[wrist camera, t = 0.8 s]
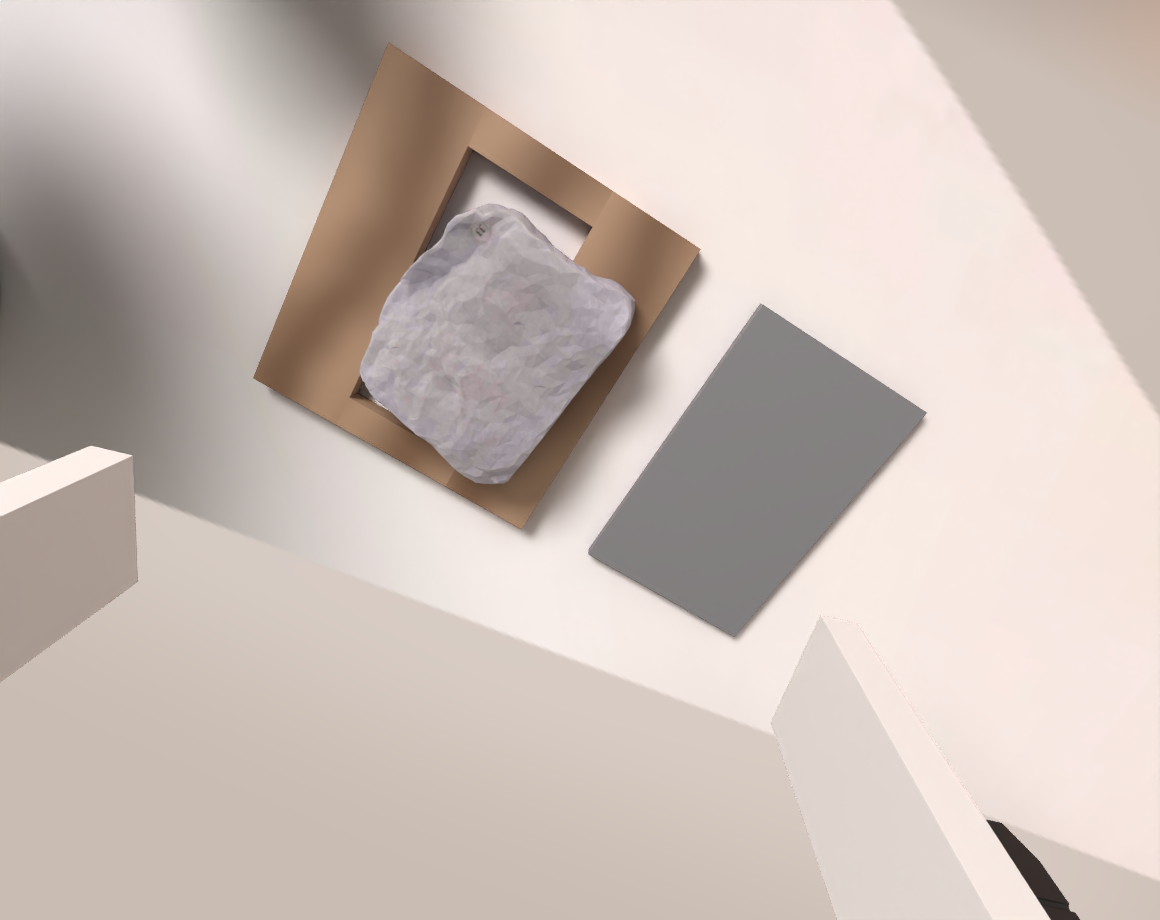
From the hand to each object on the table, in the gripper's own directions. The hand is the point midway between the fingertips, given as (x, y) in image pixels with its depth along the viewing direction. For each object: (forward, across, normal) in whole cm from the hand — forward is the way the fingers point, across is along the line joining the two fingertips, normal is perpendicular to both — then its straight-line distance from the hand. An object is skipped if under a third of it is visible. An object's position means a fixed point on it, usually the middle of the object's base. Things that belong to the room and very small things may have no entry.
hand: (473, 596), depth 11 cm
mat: (+20, +11, -4) cm, 23 cm away
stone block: (+21, -4, +1) cm, 21 cm away
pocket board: (+21, -5, +2) cm, 21 cm away
